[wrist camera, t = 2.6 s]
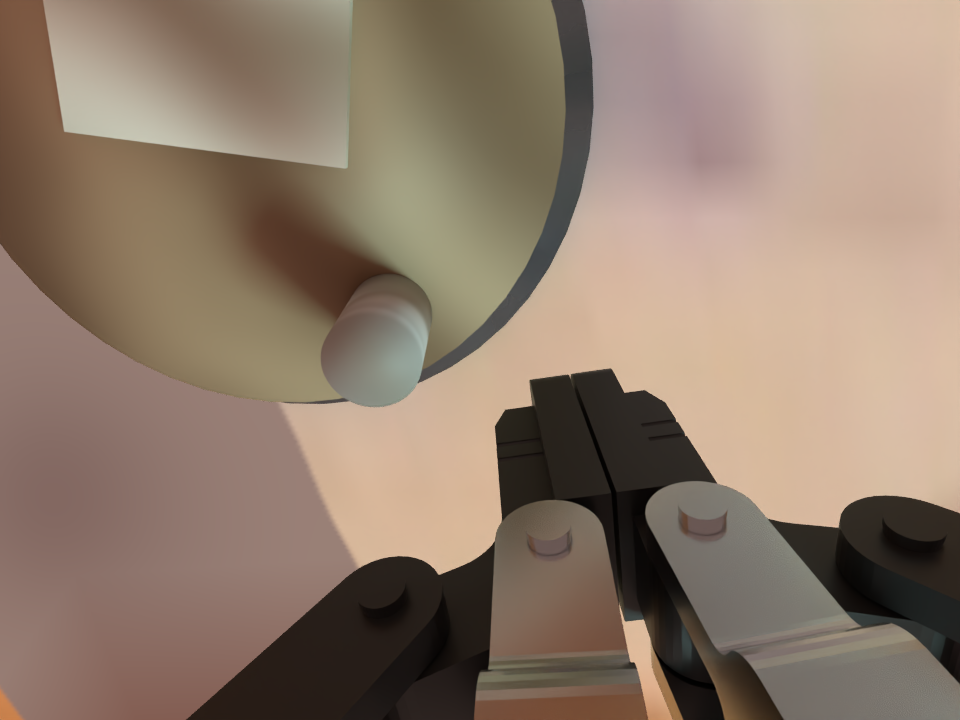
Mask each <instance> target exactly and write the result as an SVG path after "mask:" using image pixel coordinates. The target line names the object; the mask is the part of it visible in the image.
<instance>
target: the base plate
mask: <svg viewBox="0 0 960 720" xmlns="http://www.w3.org/2000/svg"><path fill="white" fill-rule="evenodd" d="M551 2H552V6H553V9H554V13H555V16H556V22H557V28H558V34H559V40H560V46H561V52H562V58H563V64H564V85H565V106H566V113H565V127H564V141H563V154H562V159H561V164H560V169H559V174H558V180H557V185H556V190H555V195H554V198H553V201H552V204H551V207H550V210H549V213H548V216H547V219H546V222H545V225H544V228H543V231H542V234H541V236H540V238H539V240H538V242H537V244H536V246H535V248H534V250H533V253H532V255H531V257H530V259H529V261H528V263H527V265H526V267H525V269H524V270H523V272H522V273H521V275H520V276H519V278H518V279H517V281H516V283H515V284H514V286H513V287H512V289H511V290H510V292H509V293H508V295H507V296H506V298H505V299H504V300H503V301H502V303H501V304H500V305H499V306H498V307H497V308H496V310H495V311H494V312H493V313H492V314H491V315H490V317H489V318H488V319H487V320H486V321H485V322H484V324H483V325H482V326H480V327H479V328H478V329H477V330H476V331H475V332H474V333H473V334H472V335H470V336H469V337H468V338H467V339H466V340H465V341H464V342H463V343H462V344H460V345H459V346H458V347H457V348H455V349H454V350H453V351H451V352H450V353H448V354H447V355H445V356H444V357H442V358H441V359H439V360H438V361H437V362H435V363H434V364H432V365H431V366H429V367H427V368H425V369H423V370H422V371H421V375H420V379H419V381H418V383H419V382H422V381H424V380H426V379H428V378H430V377H432V376H434V375H436V374H438V373H440V372H442V371H444V370H446V369H448V368H450V367H451V366H453V365H454V364H456V363H457V362H459V361H460V360H462V359H463V358H465V357H466V356H468V355H469V354H471V353H472V352H474V351H475V350H477V349H478V348H479V347H481V346H482V345H483V344H484V343H485V342H486V341H487V340H488V339H490V338H491V337H492V336H493V335H494V334H495V333H496V332H497V331H499V330H500V329H501V328H502V327H503V326H504V325H505V324H506V323H507V322H508V321H509V320H510V319H511V317H512V316H513V315H514V314H515V313H516V312H517V311H518V309H519V308H520V307H521V306H522V305H523V304H524V303H525V301H526V300H527V299H528V298H529V297H530V295H531V294H532V292H533V291H534V289H535V288H536V286H537V285H538V283H539V282H540V280H541V279H542V277H543V276H544V274H545V273H546V271H547V270H548V268H549V267H550V265H551V263H552V261H553V259H554V257H555V255H556V253H557V251H558V249H559V247H560V245H561V243H562V241H563V239H564V237H565V235H566V233H567V230H568V227H569V224H570V221H571V218H572V216H573V213H574V210H575V207H576V204H577V201H578V198H579V196H580V192H581V188H582V183H583V178H584V174H585V169H586V164H587V160H588V155H589V149H590V138H591V127H592V116H593V77H592V56H591V50H590V43H589V36H588V29H587V23H586V16H585V10H584V6H583V2H582V0H551ZM346 401H349V400H347V399H345V398H340V399H333V400H323V401H313V402H284V403H306V404H327V403H336V402H346Z"/></svg>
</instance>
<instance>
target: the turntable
mask: <svg viewBox="0 0 960 720" xmlns="http://www.w3.org/2000/svg"><path fill="white" fill-rule="evenodd" d="M565 113H566V106H565V85H564V64H563V58H562V52H561V46H560V40H559V34H558V28H557V22H556V16H555V13H554V9H553V6H552V2H551V0H0V244H1V245H2V246H3V248H4V249H5V250H6V251H7V253H8V254H9V256H10V257H11V258H12V260H13V261H14V262H15V263H16V264H17V265H18V266H19V267H20V268H21V269H22V270H23V271H24V273H25V274H26V275H27V276H28V277H29V278H30V279H31V280H32V281H33V283H34V284H35V285H36V286H37V287H38V288H39V289H40V290H41V291H42V292H43V293H45V295H46V296H47V297H49V298H50V299H51V300H52V301H53V302H54V303H55V304H56V305H58V306H59V307H60V308H61V309H62V310H63V311H64V312H65V313H66V314H68V316H70V317H71V318H72V319H73V320H75V321H76V322H77V323H79V324H80V325H81V326H83V327H84V328H86V329H87V330H88V331H90V332H91V333H92V334H94V335H95V336H96V337H98V338H99V339H100V340H102V341H103V342H105V343H106V344H108V345H110V346H111V347H113V348H115V349H116V350H118V351H120V352H121V353H123V354H125V355H127V356H128V357H130V358H131V359H133V360H135V361H136V362H139V363H141V364H143V365H145V366H147V367H149V368H151V369H153V370H156V371H158V372H160V373H162V374H164V375H166V376H168V377H170V378H173V379H176V380H179V381H182V382H185V383H187V384H190V385H193V386H196V387H199V388H202V389H205V390H209V391H214V392H217V393H222V394H226V395H230V396H234V397H239V398H246V399H254V400H262V401H270V402H313V401H323V400H333V399H340V398H345V399H347V400H349V401H351V402H353V403H355V404H358V405H362V406H367V407H383V406H388V405H392V404H394V403H397V402H399V401H401V400H402V399H404V398H405V397H407V396H408V395H409V394H410V393H411V392H412V391H413V389H414V388H415V386H416V385H417V383H418V381H419V379H420V375H421V371H422V370H423V369H425V368H427V367H429V366H431V365H432V364H434V363H435V362H437V361H438V360H439V359H441V358H442V357H444V356H445V355H447V354H448V353H450V352H451V351H453V350H454V349H455V348H457V347H458V346H459V345H460V344H462V343H463V342H464V341H465V340H466V339H467V338H468V337H469V336H470V335H472V334H473V333H474V332H475V331H476V330H477V329H478V328H479V327H480V326H482V325H483V324H484V322H485V321H486V320H487V319H488V318H489V317H490V315H491V314H492V313H493V312H494V311H495V310H496V308H497V307H498V306H499V305H500V304H501V303H502V301H503V300H504V299H505V298H506V296H507V295H508V293H509V292H510V290H511V289H512V287H513V286H514V284H515V283H516V281H517V279H518V278H519V276H520V275H521V273H522V272H523V270H524V269H525V267H526V265H527V263H528V261H529V259H530V257H531V255H532V253H533V250H534V248H535V246H536V244H537V242H538V240H539V238H540V236H541V234H542V231H543V228H544V225H545V222H546V219H547V216H548V213H549V210H550V207H551V204H552V201H553V198H554V195H555V190H556V185H557V180H558V174H559V169H560V164H561V159H562V154H563V141H564V127H565Z"/></svg>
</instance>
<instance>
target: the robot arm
mask: <svg viewBox="0 0 960 720" xmlns="http://www.w3.org/2000/svg"><path fill="white" fill-rule="evenodd" d="M530 391H531V398H532V406H530V407H522V408H515V409H508V410H505V411H504V413H503V414H502V416H501V418H500V419H499V421H498V422H497V424H496V426H495V433H496V445H497V458H498V471H499V484H500V497H501V510H502V523H501V524H500V525H499V527H498V530H497V532H496V538H495V542H494V543H493V545H492V546H491V547H490V548H489V549H488V550H487V551H486V552H485V553H483V554H482V555H481V556H479V557H478V558H476V559H475V560H473V561H471V562H470V563H467V564H465V565H463V566H461V567H458V568H456V569H453V570H451V571H448V572H446V573H443V574H441V575H438V574H437V572H436V571H435V569H434V568H432V567H431V566H430V565H429V564H427V563H426V562H424V561H422V560H419V559H416V558H412V557H403V556H397V557H388V558H383V559H379V560H376V561H374V562H371V563H369V564H367V565H364V566H362V567H361V568H359V569H357V570H356V571H354V572H353V573H352V574H350V575H349V576H348V577H346V578H345V579H344V580H343V581H342V582H341V583H340V584H339V585H338V586H336V587H335V588H334V589H333V590H332V591H331V592H330V593H328V594H327V595H326V596H325V597H324V598H323V599H322V600H321V601H319V602H318V603H317V604H316V605H315V606H314V607H313V608H312V609H310V610H309V611H308V612H307V613H306V614H305V615H304V616H303V617H301V618H300V619H299V620H298V621H297V622H296V623H295V624H294V625H292V626H291V627H290V628H289V629H288V630H287V631H286V632H285V633H283V634H282V635H281V636H280V637H279V638H278V639H277V640H276V641H274V642H273V643H272V644H271V645H270V646H269V647H268V648H267V649H266V650H264V651H263V652H262V653H261V654H260V655H259V656H258V657H257V658H255V659H254V660H253V661H252V662H251V663H250V664H249V665H247V666H246V667H245V668H244V669H243V670H242V671H241V672H239V673H238V674H237V675H236V676H235V677H234V678H233V679H232V680H231V681H229V682H228V683H227V684H226V685H225V686H224V687H223V688H222V689H220V690H219V691H218V692H217V693H216V694H215V695H214V696H212V697H211V698H210V699H209V700H208V701H207V702H206V703H205V704H204V705H202V706H201V707H200V708H199V709H198V710H197V711H196V712H194V713H193V714H192V715H191V716H190V717H189V718H188V719H187V720H648V716H647V711H646V706H645V702H644V697H643V692H642V688H641V683H640V679H639V675H638V671H637V668H636V665H635V663H634V662H633V663H631V662H630V659H629V654H628V649H627V644H626V639H625V634H624V629H623V624H622V619H621V614H620V609H619V603H620V606H621V610H622V613H623V617H624V620H625V621H634V620H642V619H644V621H645V624H646V627H647V630H648V633H649V636H650V641H651V662H652V668H653V672H654V675H655V677H656V680H657V682H658V685H659V687H660V689H661V692H662V694H663V697H664V699H665V702H666V704H667V707H668V709H669V711H670V714H671V716H672V719H673V720H960V513H957V512H954V511H951V510H949V509H946V508H943V507H940V506H937V505H934V504H931V503H928V502H925V501H921V500H917V499H912V498H907V497H899V496H873V497H867V498H863V499H860V500H857V501H855V502H853V503H851V504H849V505H848V506H847V507H846V508H845V509H844V511H843V512H842V514H841V517H840V523H839V528H834V527H823V526H813V525H802V524H792V523H785V522H779V521H775V520H770V519H767V518H766V517H765V515H764V514H763V513H762V512H761V511H760V509H759V508H758V507H757V506H756V505H755V504H754V503H753V502H752V501H751V500H750V499H749V498H748V497H746V496H745V495H743V494H742V493H740V492H738V491H736V490H734V489H732V488H729V487H727V486H723V485H720V484H717V482H716V481H715V479H714V478H713V476H712V474H711V473H710V471H709V470H708V468H707V467H706V465H705V464H704V462H703V461H702V459H701V457H700V456H699V454H698V453H697V451H696V450H695V448H694V447H693V445H692V443H691V442H690V440H689V439H688V437H687V436H685V433H684V431H683V430H682V428H681V426H680V425H679V423H678V422H676V419H675V417H674V416H673V414H672V412H671V411H670V409H669V408H668V406H667V405H666V403H665V402H663V401H662V400H660V399H658V398H657V397H655V396H653V395H652V394H650V393H648V392H647V391H645V390H643V391H636V392H629V393H624V391H623V389H622V387H621V386H620V384H619V382H618V380H617V378H616V376H615V374H614V372H613V371H612V369H603V370H596V371H589V372H582V373H575V374H571V379H570V377H569V375H561V376H554V377H547V378H540V379H533V380H530Z"/></svg>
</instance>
